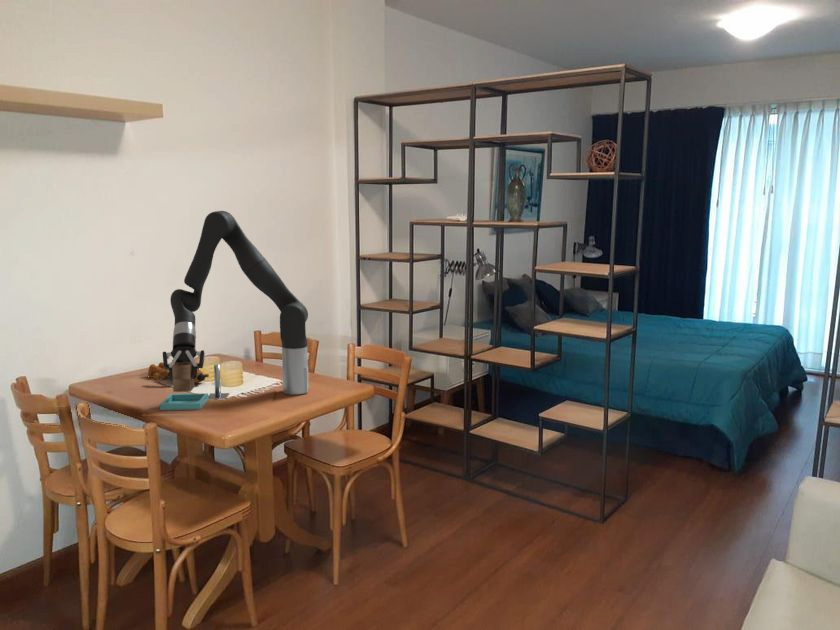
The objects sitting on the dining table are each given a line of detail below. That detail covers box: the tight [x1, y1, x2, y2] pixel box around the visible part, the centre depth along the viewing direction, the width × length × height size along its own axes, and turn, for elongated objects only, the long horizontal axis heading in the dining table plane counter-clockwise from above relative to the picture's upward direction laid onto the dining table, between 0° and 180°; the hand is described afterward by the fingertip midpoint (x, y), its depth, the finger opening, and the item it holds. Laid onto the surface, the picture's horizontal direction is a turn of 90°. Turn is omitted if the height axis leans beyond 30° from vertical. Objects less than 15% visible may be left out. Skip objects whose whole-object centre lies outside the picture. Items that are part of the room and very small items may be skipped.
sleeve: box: [172, 362, 195, 393], centre depth 223 cm, size 6×6×9 cm
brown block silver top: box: [208, 363, 230, 400], centre depth 234 cm, size 7×7×12 cm
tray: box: [159, 392, 209, 411], centre depth 224 cm, size 13×12×3 cm
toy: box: [147, 362, 210, 385], centre depth 257 cm, size 20×7×30 cm
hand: (183, 378), depth 221 cm, fingers closed on sleeve, 6 cm apart
